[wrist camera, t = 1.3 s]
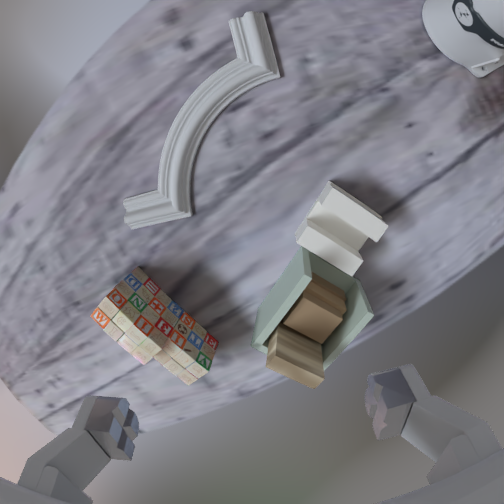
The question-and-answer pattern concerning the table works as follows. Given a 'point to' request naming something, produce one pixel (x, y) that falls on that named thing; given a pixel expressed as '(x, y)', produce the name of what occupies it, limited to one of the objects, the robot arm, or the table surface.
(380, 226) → the holder
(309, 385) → the rectangular block
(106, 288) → the table surface
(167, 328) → the stack of blocks
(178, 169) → the molding
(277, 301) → the rack
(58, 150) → the table surface
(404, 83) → the table surface
